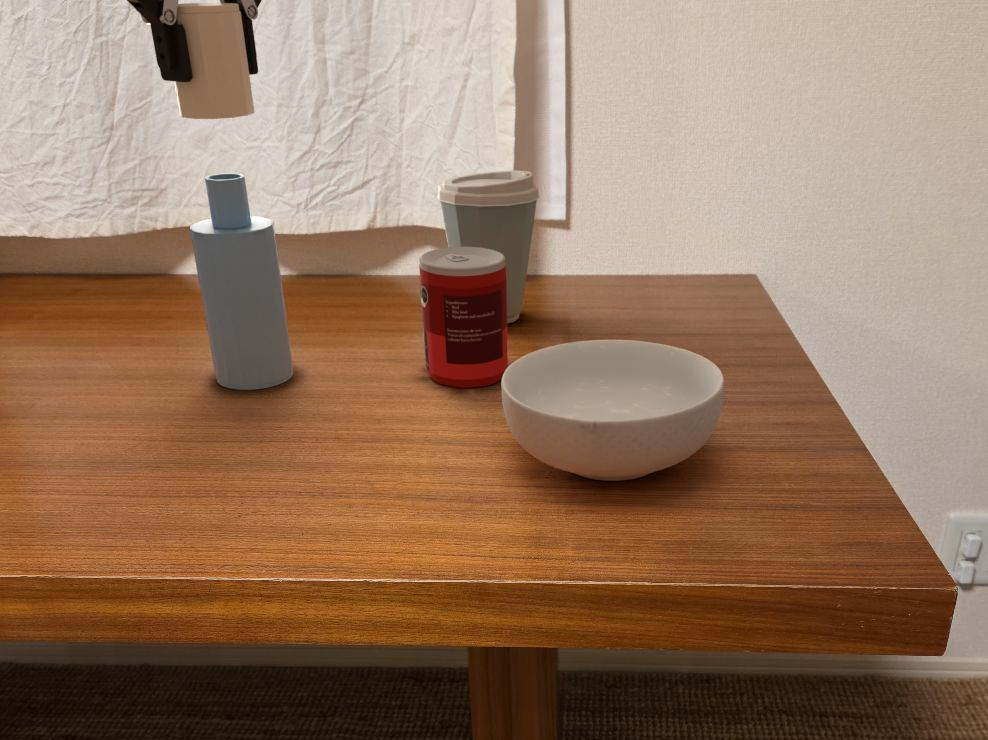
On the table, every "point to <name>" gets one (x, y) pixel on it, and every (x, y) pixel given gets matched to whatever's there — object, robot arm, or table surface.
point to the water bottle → (241, 289)
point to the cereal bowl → (612, 406)
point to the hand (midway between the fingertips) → (210, 74)
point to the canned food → (464, 315)
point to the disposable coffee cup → (493, 221)
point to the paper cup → (214, 63)
